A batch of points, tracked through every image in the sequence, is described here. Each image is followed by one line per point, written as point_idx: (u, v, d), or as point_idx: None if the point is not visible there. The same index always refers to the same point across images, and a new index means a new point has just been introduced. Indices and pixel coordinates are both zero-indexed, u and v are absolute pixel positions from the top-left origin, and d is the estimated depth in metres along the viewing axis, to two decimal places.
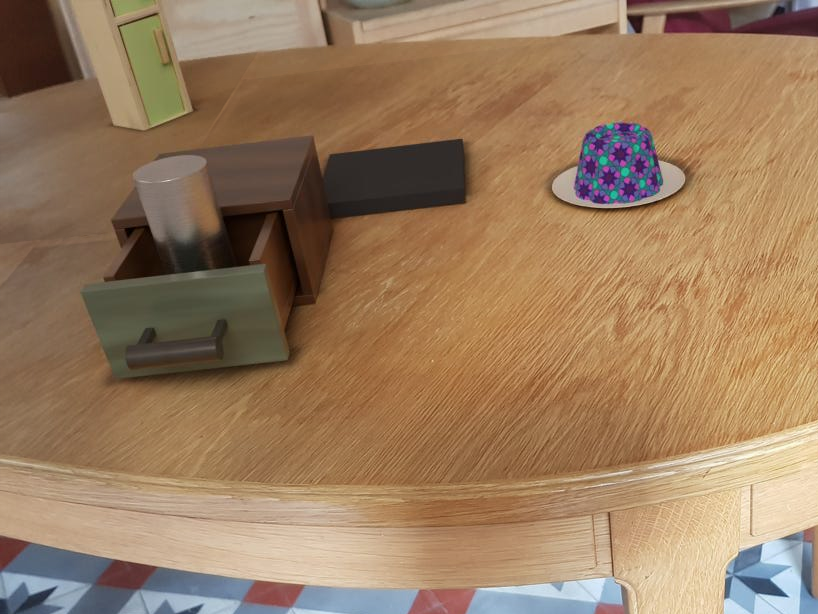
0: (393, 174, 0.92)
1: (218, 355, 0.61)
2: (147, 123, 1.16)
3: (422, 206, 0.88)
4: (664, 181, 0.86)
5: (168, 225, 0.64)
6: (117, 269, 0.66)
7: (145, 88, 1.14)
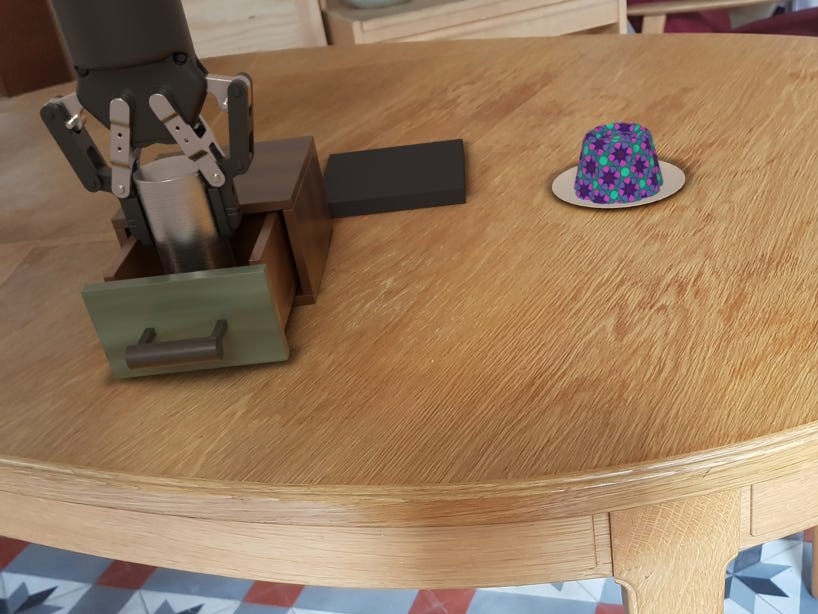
0: (393, 174, 0.92)
1: (218, 355, 0.61)
2: None
3: (422, 206, 0.88)
4: (664, 181, 0.86)
5: (168, 225, 0.64)
6: (117, 269, 0.66)
7: None
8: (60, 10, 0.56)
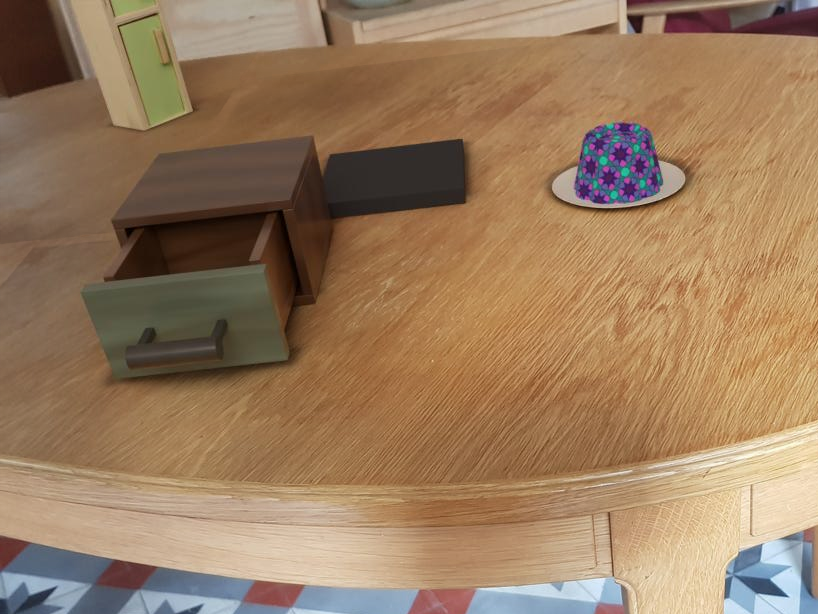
0: (393, 174, 0.92)
1: (218, 355, 0.61)
2: (147, 123, 1.16)
3: (422, 206, 0.88)
4: (664, 181, 0.86)
5: None
6: (117, 269, 0.66)
7: (145, 88, 1.14)
8: None
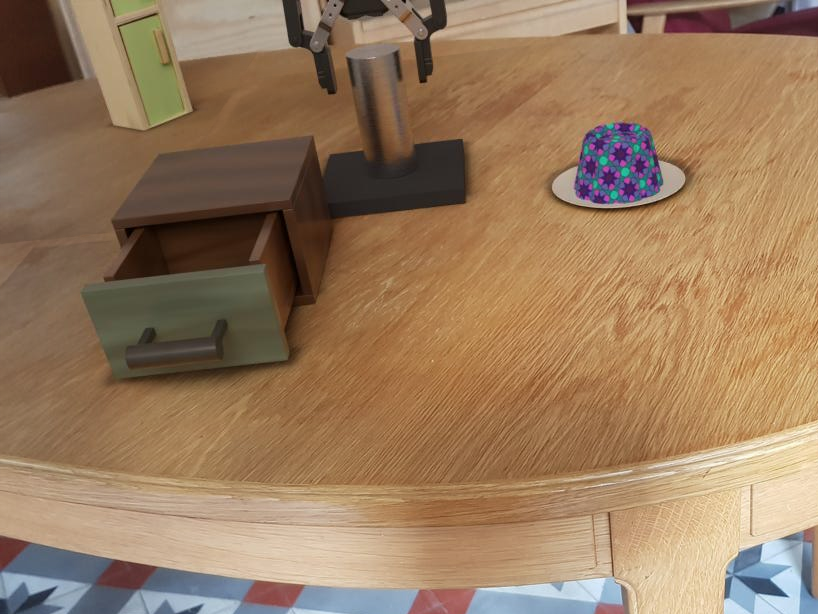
0: None
1: (218, 355, 0.61)
2: (147, 123, 1.16)
3: (422, 206, 0.88)
4: (664, 181, 0.86)
5: (372, 93, 0.86)
6: (117, 269, 0.66)
7: (145, 88, 1.14)
8: None
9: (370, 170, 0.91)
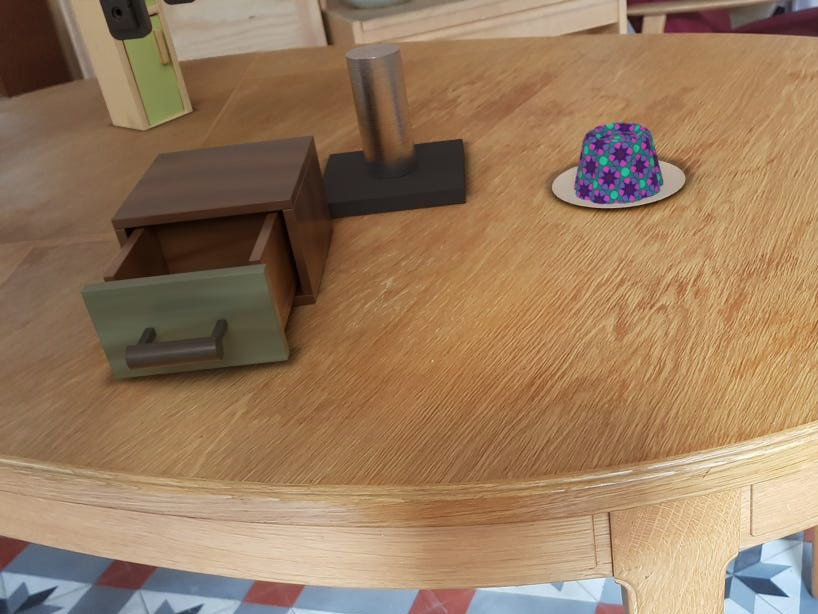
0: None
1: (218, 355, 0.61)
2: (147, 123, 1.16)
3: (422, 206, 0.88)
4: (664, 181, 0.86)
5: (372, 93, 0.86)
6: (117, 269, 0.66)
7: (145, 88, 1.14)
8: None
9: (370, 170, 0.91)
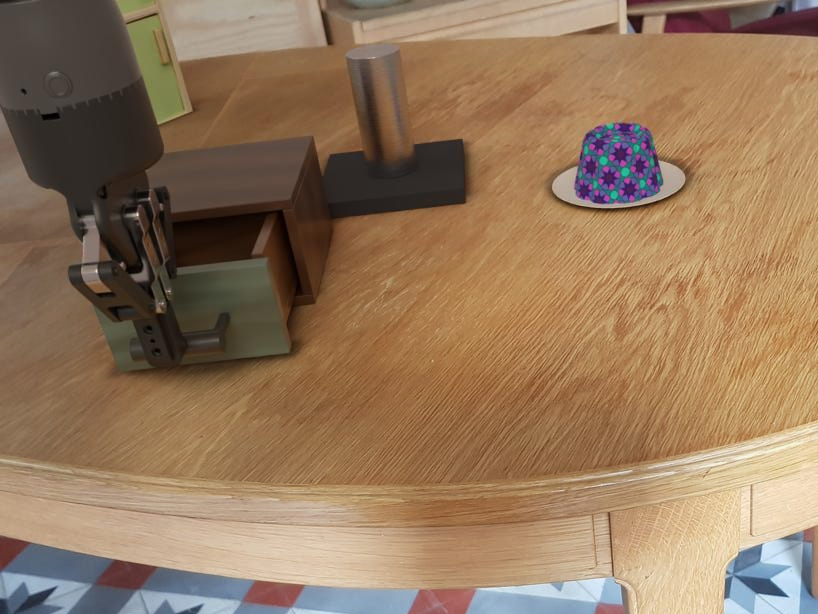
0: None
1: (221, 348, 0.62)
2: None
3: (422, 206, 0.88)
4: (664, 181, 0.86)
5: (372, 93, 0.86)
6: None
7: None
8: (113, 113, 0.49)
9: (370, 170, 0.91)
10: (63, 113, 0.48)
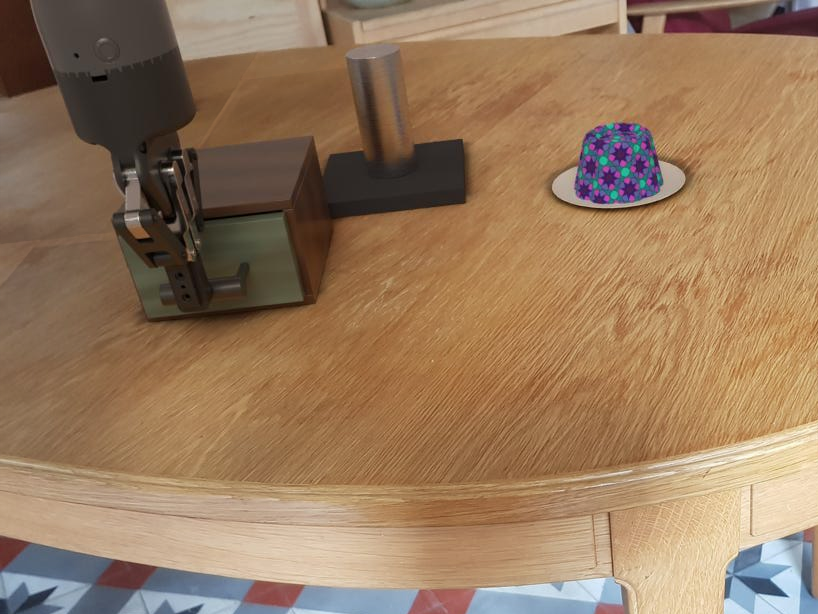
0: None
1: (242, 292, 0.68)
2: None
3: (422, 206, 0.88)
4: (664, 181, 0.86)
5: (372, 93, 0.86)
6: None
7: None
8: (154, 76, 0.56)
9: (370, 170, 0.91)
10: (110, 75, 0.54)
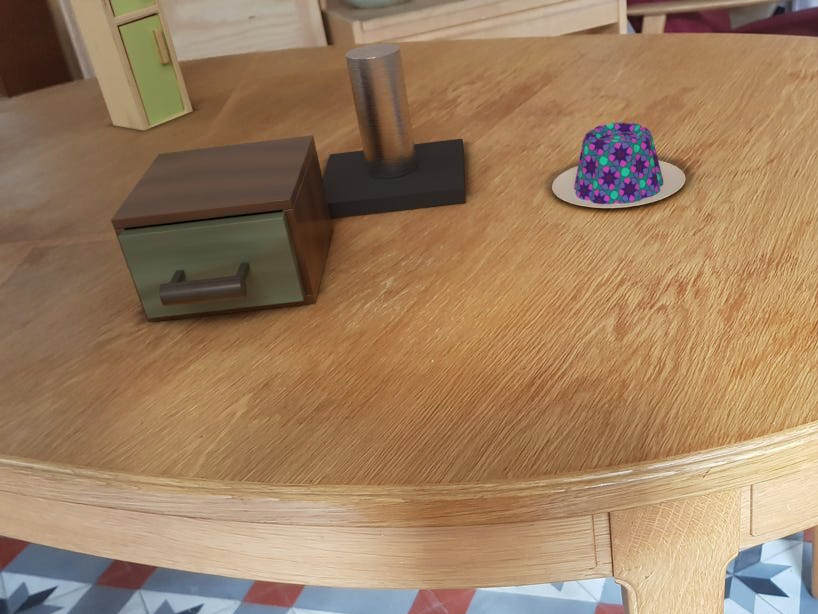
0: None
1: (242, 292, 0.68)
2: (147, 123, 1.16)
3: (422, 206, 0.88)
4: (664, 181, 0.86)
5: (372, 93, 0.86)
6: None
7: (145, 88, 1.14)
8: None
9: (370, 170, 0.91)
10: None
